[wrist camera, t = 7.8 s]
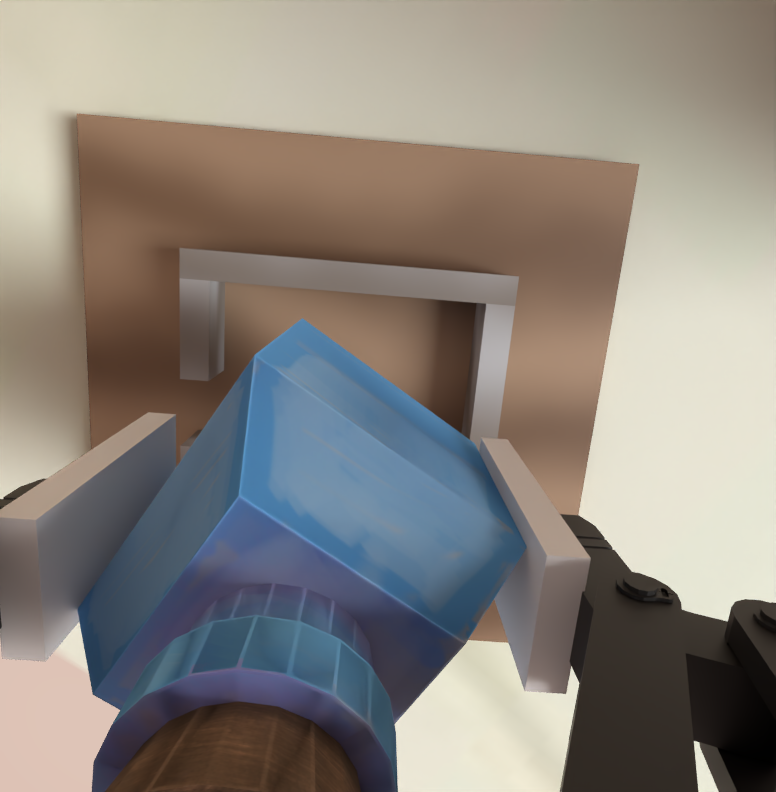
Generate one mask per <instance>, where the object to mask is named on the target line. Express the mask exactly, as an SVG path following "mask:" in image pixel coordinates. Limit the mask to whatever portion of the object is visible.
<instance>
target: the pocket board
mask: <svg viewBox="0 0 776 792" xmlns="http://www.w3.org/2000/svg"><path fill="white" fill-rule="evenodd" d="M77 131H78V154H79V177H80V200H81V223H82V246H83V269H84V292H85V315H86V339H87V362H88V385H89V408H90V431H91V450H92V449H93V448H95V447H96V446H98V445H99V444H101V443H102V442H104V441H105V440H107V439H108V438H110V437H111V436H113V435H115V434H116V433H118V432H119V431H121V430H122V429H124V428H125V427H127V426H128V425H130V424H131V423H133V422H134V421H136V420H137V419H139V418H140V417H142V416H143V415H145V414H147V413H148V412H151V413H164V414H176V467H177V466H178V464H179V463H180V461H181V460H182V458H183V457H184V455H185V454H186V453H187V451H188V450H189V448H190V447H191V445H192V444H193V443H194V441H195V440H196V438H197V437H198V435H199V434H200V433H201V431H202V430H203V428H204V427H205V425H206V424H207V423H208V421H209V420H210V418H211V417H212V415H213V414H214V413H215V411H216V410H217V408H218V407H219V405H220V404H221V403H222V401H223V400H224V398H225V397H226V395H227V394H228V392H229V391H230V390H231V388H232V387H233V385H234V384H235V382H236V381H237V380H238V378H239V377H240V375H241V374H242V372H243V371H244V370H245V368H246V367H247V365H248V364H249V362H250V361H251V360H252V358H253V357H254V355H255V354H256V353H258V352H259V351H260V350H262V349H263V348H264V347H266V346H267V345H268V344H269V343H271V342H272V341H273V340H275V339H276V338H277V337H279V336H280V335H281V334H283V333H284V332H285V331H286V330H288V329H289V328H290V327H292V326H293V325H294V324H296V323H297V322H298V321H299V320H301V319H302V318H303V319H304V320H306V321H307V322H308V323H310V324H311V325H312V326H314V327H315V328H317V329H318V330H319V331H321V332H322V333H323V334H325V335H326V336H328V337H329V338H330V339H332V340H333V341H334V342H336V343H337V344H339V345H340V346H341V347H343V348H344V349H345V350H347V351H348V352H350V353H351V354H352V355H354V356H355V357H356V358H358V359H359V360H361V361H362V362H363V363H365V364H366V365H367V366H369V367H370V368H372V369H373V370H374V371H376V372H377V373H379V374H380V375H381V376H383V377H384V378H385V379H387V380H388V381H390V382H391V383H392V384H394V385H395V386H396V387H398V388H399V389H401V390H402V391H403V392H405V393H406V394H407V395H409V396H410V397H412V398H413V399H414V400H416V401H417V402H418V403H420V404H421V405H423V406H424V407H425V408H427V409H428V410H429V411H431V412H432V413H434V414H435V415H436V416H438V417H439V418H440V419H442V420H443V421H445V422H446V423H447V424H449V425H450V426H452V427H453V428H454V429H456V430H457V431H458V432H460V433H461V434H463V435H464V436H465V437H467V438H468V439H469V440H471V441H472V442H474V443H475V445H476V447H477V449H478V451H479V450H480V442H481V437H482V438H495V439H508V441H509V442H510V444H511V445H512V446H513V448H514V449H515V451H516V452H517V454H518V455H519V456H520V458H521V459H522V461H523V462H524V464H525V465H526V466H527V468H528V469H529V471H530V472H531V474H532V475H533V476H534V478H535V479H536V481H537V482H538V484H539V485H540V486H541V488H542V489H543V491H544V492H545V494H546V495H547V496H548V498H549V499H550V501H551V502H552V504H553V505H554V506H555V508H556V509H557V511H558V512H559V514H567V515H578V513H579V507H580V501H581V495H582V490H583V484H584V478H585V473H586V467H587V461H588V455H589V450H590V444H591V438H592V433H593V427H594V421H595V415H596V410H597V404H598V398H599V392H600V387H601V381H602V375H603V370H604V364H605V358H606V352H607V347H608V341H609V335H610V329H611V324H612V318H613V312H614V307H615V301H616V295H617V289H618V284H619V278H620V272H621V266H622V261H623V255H624V249H625V244H626V238H627V232H628V226H629V221H630V215H631V209H632V203H633V198H634V192H635V186H636V181H637V175H638V169H639V164H629V163H618V162H607V161H596V160H585V159H574V158H563V157H552V156H541V155H529V154H518V153H507V152H496V151H485V150H474V149H463V148H452V147H441V146H430V145H418V144H407V143H396V142H385V141H374V140H363V139H352V138H341V137H330V136H319V135H308V134H296V133H285V132H274V131H263V130H252V129H241V128H230V127H219V126H208V125H197V124H185V123H174V122H163V121H152V120H141V119H130V118H119V117H108V116H97V115H86V114H77ZM468 640H477V641H492V642H507V643H509V642H508V639H507V636H506V633H505V630H504V627H503V624H502V621H501V618H500V615H499V612H498V609H497V606H496V603H495V600H493V602H492V603H491V605H490V606H489V608H488V609H487V611H486V612H485V614H484V616H483V617H482V619H481V620H480V622H479V623H478V625H477V627H476V628H475V630H474V631H473V633H472V634H471V636H470V637H469V639H468Z"/></svg>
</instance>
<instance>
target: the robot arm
mask: <svg viewBox="0 0 776 792" xmlns="http://www.w3.org/2000/svg"><path fill="white" fill-rule="evenodd" d="M479 453H480V455H481V457H482V459H483V461H484V463H485V465H486V467H487V469H488V471H489V473H490V475H491V477H492V479H493V481H494V483H495V485H496V487H497V489H498V491H499V493H500V495H501V497H502V499H503V500H504V502H505V504H506V506H507V508H508V510H509V512H510V514H511V516H512V518H513V520H514V522H515V524H516V526H517V528H518V530H519V532H520V534H521V536H522V538H523V540H524V542H525V544H526V546H527V548H526V550H525V551H524V553H523V555H522V556H521V558H520V559H519V561H518V562H517V564H516V566H515V567H514V569H513V570H512V572H511V573H510V575H509V576H508V578H507V580H506V581H505V583H504V584H503V586H502V587H501V589H500V591H499V592H498V594H497V595H496V597H495V598H494V600H495V603H496V606H497V609H498V612H499V615H500V618H501V621H502V624H503V627H504V630H505V633H506V636H507V639H508V642H509V645H510V648H511V651H512V654H513V657H514V660H515V663H516V666H517V669H518V672H519V675H520V678H521V681H522V684H523V687H524V690H525V691H531V692H547V693H563V694H566V691H567V686H568V680H569V675H570V669H571V666H572V668H573V670H574V672H575V674H576V677H577V679H578V681H579V683H580V684H579V689H578V694H577V699H576V705H575V710H574V715H573V721H572V726H571V731H570V737H569V744H568V749H567V755H566V760H565V766H564V771H563V777H562V782H561V788H560V792H698V784H697V773H696V762H695V751H694V741H697V742H700V748H701V750H702V753H703V755H704V757H705V760H706V762H707V764H708V767H709V769H710V772H711V774H712V776H713V779H714V781H715V784H716V786H717V788H718V791H719V792H776V603H768V602H764V601H760V600H747V599H745V600H741V601H737V602H735V603H734V605H733V606H732V607H731V611H730V615H729V619H728V622H727V621H723V620H719V619H714V618H710V617H706V616H702V615H698V614H694V613H691V612H687V611H684V610H682V609H681V602H680V600H679V597H678V595H677V594H676V593H675V592H674V591H673V590H672V589H670V588H669V587H668V586H667V585H665V584H663V583H661V582H660V581H658V580H656V579H654V578H651V577H648V576H646V575H643V574H640V573H635V572H631V570H630V569H629V568H628V567H627V565H626V564H625V563H624V562H623V560H622V559H621V558H620V557H619V555H618V554H617V553H616V552H615V550H612V547H611V545H610V544H609V543H608V542H607V540H604V537H603V535H602V534H601V533H600V532H599V530H598V529H597V528H596V527H595V526H594V525H593V524H591V523H589V522H588V521H586V520H585V519H583V518H582V517H580V516H579V515H567V514H559V512H558V511H557V509H556V508H555V506H554V505H553V504H552V502H551V501H550V499H549V498H548V496H547V495H546V494H545V492H544V491H543V489H542V488H541V486H540V485H539V484H538V482H537V481H536V479H535V478H534V476H533V475H532V474H531V472H530V471H529V469H528V468H527V466H526V465H525V464H524V462H523V461H522V459H521V458H520V456H519V455H518V454H517V452H516V451H515V449H514V448H513V446H512V445H511V444H510V442H509V441H508V439H495V438H482V437H481V442H480V450H479ZM175 468H176V414H164V413H151V412H148V413H147V414H145V415H143V416H142V417H140V418H139V419H137V420H136V421H134V422H133V423H131V424H130V425H128V426H127V427H125V428H124V429H122V430H121V431H119V432H118V433H116V434H115V435H113V436H111V437H110V438H108V439H107V440H105V441H104V442H102V443H101V444H99V445H98V446H96V447H95V448H93V449H92V450H90V451H89V452H87V453H86V454H84V455H83V456H81V457H79V458H78V459H76V460H75V461H73V462H72V463H70V464H69V465H67V466H66V467H64V468H63V469H61V470H60V471H58V472H57V473H55V474H54V475H52V476H51V477H49V478H47V479H41V480H38V481H35V482H33V483H30V484H27V485H24V486H21V487H19V488H18V489H16V490H14V491H13V492H11V493H10V494H8V495H6V496H5V497H4V499H0V639H1V651H2V659H15V660H33V661H46V660H47V659H48V658H49V657H50V656H51V654H52V653H53V652H54V651H55V650H56V648H57V647H58V646H59V645H60V644H61V642H62V641H63V640H64V639H65V638H66V636H67V635H68V634H69V633H70V632H71V630H72V629H73V628H74V627H75V626H76V624H77V623H78V622H79V616H78V611H77V610H78V607H79V606H80V604H81V603H82V602H83V600H84V599H85V597H86V596H87V594H88V593H89V592H90V590H91V589H92V587H93V586H94V584H95V583H96V582H97V580H98V579H99V577H100V576H101V574H102V573H103V571H104V570H105V569H106V567H107V566H108V564H109V563H110V561H111V560H112V559H113V557H114V556H115V554H116V553H117V551H118V550H119V549H120V547H121V546H122V544H123V543H124V541H125V540H126V539H127V537H128V536H129V534H130V533H131V531H132V530H133V529H134V527H135V526H136V524H137V523H138V521H139V520H140V518H141V517H142V516H143V514H144V513H145V511H146V510H147V508H148V507H149V506H150V504H151V503H152V501H153V500H154V498H155V497H156V496H157V494H158V493H159V491H160V490H161V488H162V487H163V486H164V484H165V483H166V481H167V480H168V478H169V477H170V476H171V474H172V473H173V471H174V470H175Z"/></svg>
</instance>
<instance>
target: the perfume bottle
mask: <svg viewBox="0 0 776 792" xmlns="http://www.w3.org/2000/svg"><path fill="white" fill-rule="evenodd" d="M526 548H527V546H526V544H525V542H524V540H523V538H522V536H521V534H520V532H519V530H518V528H517V526H516V524H515V522H514V520H513V518H512V516H511V514H510V512H509V510H508V508H507V506H506V504H505V502H504V500H503V499H502V497H501V495H500V493H499V491H498V489H497V487H496V485H495V483H494V481H493V479H492V477H491V475H490V473H489V471H488V469H487V467H486V465H485V463H484V461H483V459H482V457H481V455H480V453H479V451H478V449H477V447H476V445H475V443H474V442H472V441H471V440H469V439H468V438H467V437H465V436H464V435H463V434H461V433H460V432H458V431H457V430H456V429H454V428H453V427H452V426H450V425H449V424H447V423H446V422H445V421H443V420H442V419H440V418H439V417H438V416H436V415H435V414H434V413H432V412H431V411H429V410H428V409H427V408H425V407H424V406H423V405H421V404H420V403H418V402H417V401H416V400H414V399H413V398H412V397H410V396H409V395H407V394H406V393H405V392H403V391H402V390H401V389H399V388H398V387H396V386H395V385H394V384H392V383H391V382H390V381H388V380H387V379H385V378H384V377H383V376H381V375H380V374H379V373H377V372H376V371H374V370H373V369H372V368H370V367H369V366H367V365H366V364H365V363H363V362H362V361H361V360H359V359H358V358H356V357H355V356H354V355H352V354H351V353H350V352H348V351H347V350H345V349H344V348H343V347H341V346H340V345H339V344H337V343H336V342H334V341H333V340H332V339H330V338H329V337H328V336H326V335H325V334H323V333H322V332H321V331H319V330H318V329H317V328H315V327H314V326H312V325H311V324H310V323H308V322H307V321H306V320H304V319H303V318H302V319H301V320H299V321H298V322H297V323H296V324H294V325H293V326H292V327H290V328H289V329H288V330H286V331H285V332H284V333H283V334H281V335H280V336H279V337H277V338H276V339H275V340H273V341H272V342H271V343H269V344H268V345H267V346H266V347H264V348H263V349H262V350H260V351H259V352H258V353H256V354H255V355H254V357H253V358H252V360H251V361H250V362H249V364H248V365H247V367H246V368H245V370H244V371H243V372H242V374H241V375H240V377H239V378H238V380H237V381H236V382H235V384H234V385H233V387H232V388H231V390H230V391H229V392H228V394H227V395H226V397H225V398H224V400H223V401H222V403H221V404H220V405H219V407H218V408H217V410H216V411H215V413H214V414H213V415H212V417H211V418H210V420H209V421H208V423H207V424H206V425H205V427H204V428H203V430H202V431H201V433H200V434H199V435H198V437H197V438H196V440H195V441H194V443H193V444H192V445H191V447H190V448H189V450H188V451H187V453H186V454H185V455H184V457H183V458H182V460H181V461H180V463H179V464H178V466H177V467H176V468H175V470H174V471H173V473H172V474H171V476H170V477H169V478H168V480H167V481H166V483H165V484H164V486H163V487H162V488H161V490H160V491H159V493H158V494H157V496H156V497H155V498H154V500H153V501H152V503H151V504H150V506H149V507H148V508H147V510H146V511H145V513H144V514H143V516H142V517H141V518H140V520H139V521H138V523H137V524H136V526H135V527H134V529H133V530H132V531H131V533H130V534H129V536H128V537H127V539H126V540H125V541H124V543H123V544H122V546H121V547H120V549H119V550H118V551H117V553H116V554H115V556H114V557H113V559H112V560H111V561H110V563H109V564H108V566H107V567H106V569H105V570H104V571H103V573H102V574H101V576H100V577H99V579H98V580H97V582H96V583H95V584H94V586H93V587H92V589H91V590H90V592H89V593H88V594H87V596H86V597H85V599H84V600H83V602H82V603H81V604H80V606H79V607H78V610H77V611H78V616H79V621H80V627H81V632H82V638H83V643H84V649H85V654H86V659H87V665H88V670H89V676H90V681H91V686H92V692H93V695H95V696H96V697H98V698H100V699H102V700H104V701H105V702H107V703H109V704H111V705H113V706H115V707H116V708H118V709H119V710H120V712H119V714H118V716H117V717H116V719H115V721H114V722H113V724H112V726H111V728H110V730H109V732H108V734H107V736H106V738H105V740H104V742H103V744H102V746H101V748H100V750H99V752H98V754H97V756H96V758H95V760H94V765H93V782H92V792H398V786H397V756H396V731H395V726H394V724H395V723H396V722H397V721H398V719H399V718H400V717H401V716H402V715H403V714H404V713H405V712H406V710H407V709H408V708H409V707H410V706H411V705H412V704H413V702H414V701H415V700H416V699H417V698H418V697H419V696H420V695H421V693H422V692H423V691H424V690H425V689H426V688H427V687H428V686H429V684H430V683H431V682H432V681H433V680H434V679H435V678H436V677H437V675H438V674H439V673H440V672H441V671H442V670H443V669H444V667H445V666H446V665H447V664H448V663H449V662H450V661H451V660H452V658H453V657H454V656H455V655H456V654H457V653H458V652H459V651H460V649H461V648H462V647H463V646H464V645H465V644H466V642H467V641H468V639H469V637H470V636H471V634H472V633H473V631H474V630H475V628H476V627H477V625H478V623H479V622H480V620H481V619H482V617H483V616H484V614H485V612H486V611H487V609H488V608H489V606H490V605H491V603H492V602H493V600H494V598H495V597H496V595H497V594H498V592H499V591H500V589H501V587H502V586H503V584H504V583H505V581H506V580H507V578H508V576H509V575H510V573H511V572H512V570H513V569H514V567H515V566H516V564H517V562H518V561H519V559H520V558H521V556H522V555H523V553H524V551H525V550H526Z"/></svg>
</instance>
